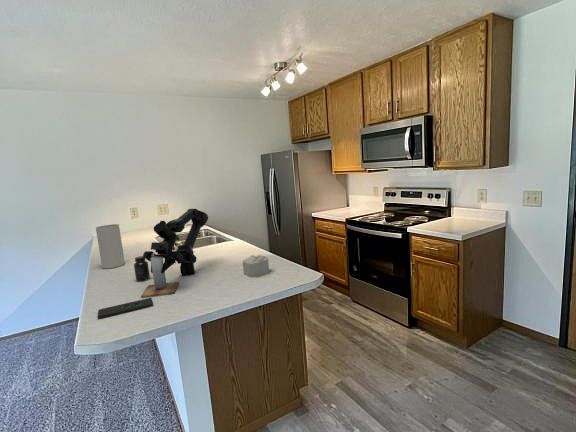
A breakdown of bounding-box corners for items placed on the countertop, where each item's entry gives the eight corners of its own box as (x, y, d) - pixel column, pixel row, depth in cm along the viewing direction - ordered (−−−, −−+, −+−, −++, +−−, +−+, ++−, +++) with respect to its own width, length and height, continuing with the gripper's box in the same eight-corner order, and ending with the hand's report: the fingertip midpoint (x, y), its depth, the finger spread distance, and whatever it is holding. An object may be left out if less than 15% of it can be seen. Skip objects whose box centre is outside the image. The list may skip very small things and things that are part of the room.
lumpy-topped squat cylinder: (241, 273, 167) (240, 257, 166) (262, 267, 175) (261, 252, 173) (251, 278, 159) (250, 261, 157) (273, 271, 166) (272, 255, 165)
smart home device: (153, 303, 133) (97, 316, 124) (153, 307, 133) (98, 320, 124) (151, 297, 140) (98, 309, 131) (151, 300, 141) (99, 313, 132)
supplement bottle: (153, 277, 172) (149, 255, 170) (144, 281, 165) (140, 259, 163) (142, 276, 174) (139, 255, 172) (133, 281, 167) (129, 259, 165)
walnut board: (178, 283, 159) (178, 281, 159) (174, 293, 146) (173, 291, 145) (148, 287, 157) (148, 285, 157) (141, 298, 143) (140, 295, 143)
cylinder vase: (123, 266, 197) (117, 226, 193) (100, 270, 192) (93, 229, 188) (125, 261, 208) (120, 223, 204) (103, 265, 204) (97, 226, 200)
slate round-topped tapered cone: (166, 283, 154) (162, 255, 152) (167, 286, 150) (163, 257, 148) (154, 285, 152) (150, 257, 150) (155, 289, 148) (150, 259, 145)
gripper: (142, 234, 154) (128, 264, 145) (176, 234, 148) (164, 265, 140) (155, 246, 162) (143, 275, 154) (188, 246, 157) (177, 276, 148)
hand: (156, 272), depth 149 cm, fingers closed on slate round-topped tapered cone, 5 cm apart
